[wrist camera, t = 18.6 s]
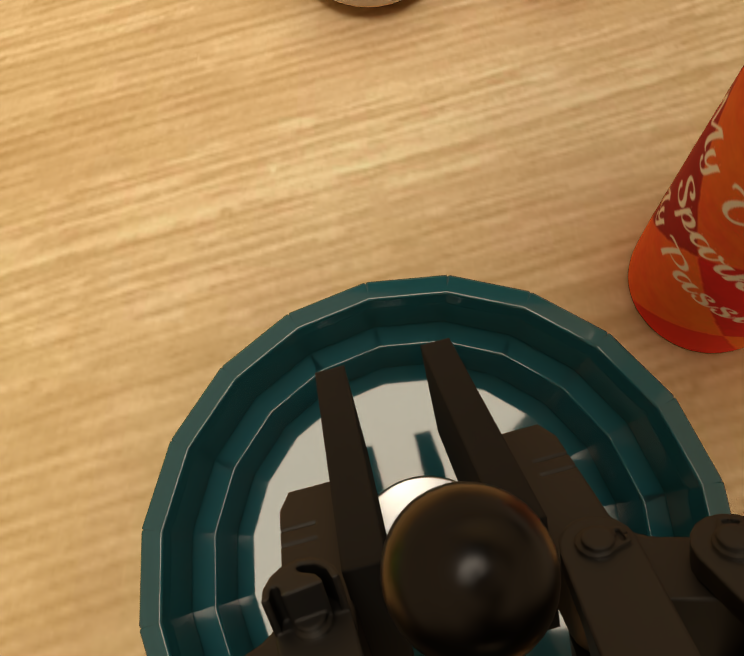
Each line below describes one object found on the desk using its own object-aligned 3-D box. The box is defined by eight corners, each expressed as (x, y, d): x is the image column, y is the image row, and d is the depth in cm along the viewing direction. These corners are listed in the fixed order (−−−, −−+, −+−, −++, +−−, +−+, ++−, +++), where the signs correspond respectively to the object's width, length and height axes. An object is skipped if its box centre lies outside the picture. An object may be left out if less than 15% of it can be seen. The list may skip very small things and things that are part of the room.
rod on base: (489, 475, 22) (663, 332, 7) (508, 624, 21) (776, 836, 6) (352, 486, 23) (241, 370, 7) (362, 635, 21) (250, 873, 6)
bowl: (610, 319, 25) (671, 253, 19) (704, 794, 20) (820, 893, 15) (205, 355, 25) (146, 301, 20) (206, 831, 21) (130, 941, 15)
